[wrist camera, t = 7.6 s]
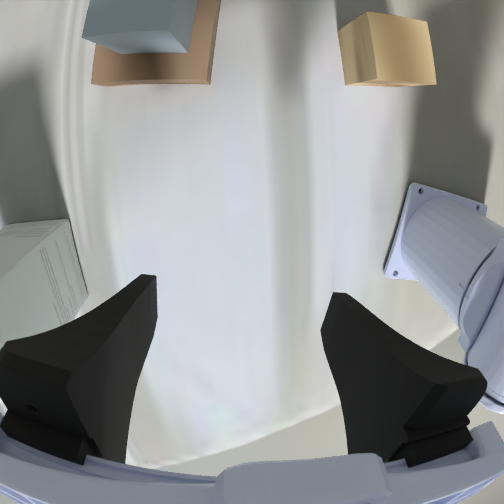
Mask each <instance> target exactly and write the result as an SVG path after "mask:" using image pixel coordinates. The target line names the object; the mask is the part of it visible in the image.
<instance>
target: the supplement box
mask: <svg viewBox="0 0 504 504" xmlns="http://www.w3.org/2000/svg"><path fill="white" fill-rule="evenodd" d="M87 298H88V293H87V290H86V287H85V283H84V280H83V276H82V273H81V269H80V265H79V262H78V258H77V254H76V250H75V245H74V241H73V237H72V232H71V227H70V222H69V219H57V220H47V221H35V222H25V223H15V224H8V225H6V226H5V227H4V228H2V229H1V230H0V350H1V348H2V347H3V345H4V344H5V343H6V341H10V340H15V339H20V338H24V337H29V336H33V335H36V334H39V333H43V332H46V331H49V330H52V329H54V328H57V327H59V326H61V325H64V324H66V323H68V322H71V321H73V320H74V318H75V317H76V315H77V313H78V312H79V310H80V309H81V307H82V305H83V304H84V302H85V301H86V299H87ZM0 403H3V401H2V400H1V398H0ZM3 404H4V403H3Z"/></svg>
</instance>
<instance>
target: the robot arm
mask: <svg viewBox="0 0 504 504" xmlns="http://www.w3.org/2000/svg"><path fill="white" fill-rule="evenodd" d="M420 188H421V192H420V193H418V191H419V189H420ZM476 207H477V208H476ZM486 213H487V205H485V204H483V203H480V202H477V201H474V200H471V199H468V198H465V197H462V196H459V195H456V194H453V193H449V192H446V191H443V190H440V189H436V188H433V187H429V186H426V185H422V184H419V183H411V184H410V186H409V189H408V192H407V196H406V200H405V204H404V207H403V211H402V215H401V218H400V222H399V225H398V228H397V232H396V235H395V238H394V241H393V245H392V248H391V251H390V254H389V257H388V260H387V263H386V266H385V269H384V275H385V276H386V277H387V278H394V279H406V280H418V281H419V282H420V284H421V285H422V286H423V287H424V288H425V289H426V290H427V291H428V292H429V293H430V295H431V296H432V297H433V298H434V299H435V300H436V301H437V303H438V304H439V305H440V306H441V307H442V308H443V309H444V311H445V312H446V313H447V314H448V315H449V317H450V318H451V319H452V320H453V321H454V323H455V324H456V325H457V326H458V327H459V329H460V330H461V333H460V336H459V338H458V343H459V344H460V345H461V347H462V348H463V349H464V351H465V352H466V353H465V355H464V357H463V359H462V362H461V364H460V363H457V362H454V361H452V360H449V359H446V358H444V357H441V356H439V355H437V354H435V353H433V352H430V351H428V350H426V349H424V348H422V347H421V346H419V345H417V344H415V343H413V342H412V341H410V340H409V339H407V338H405V337H404V336H402V335H401V334H399V333H398V332H396V331H395V330H393V329H392V328H391V327H389V326H388V325H387V324H385V323H384V322H383V321H381V320H380V319H379V318H378V317H376V316H375V315H374V314H373V313H371V312H370V311H369V310H368V309H366V308H365V307H364V306H363V305H362V304H360V303H359V302H358V301H357V300H355V299H354V298H353V297H351V296H350V295H348V294H347V293H337V292H333V294H332V297H331V300H330V303H329V306H328V310H327V313H326V316H325V319H324V322H323V325H322V327H321V336H322V342H323V347H324V351H325V354H326V357H327V360H328V363H329V366H330V369H331V372H332V375H333V378H334V381H335V384H336V387H337V390H338V393H339V397H340V401H341V406H342V411H343V416H344V423H345V429H346V437H347V447H348V455H343V456H334V457H325V458H315V459H302V460H283V461H260V462H249V463H242V464H239V465H235V466H232V467H228V468H227V469H225V470H224V471H223V472H222V473H221V474H220V475H219V476H217V477H215V476H202V475H191V474H181V473H173V472H166V471H160V470H153V469H147V468H142V467H137V466H132V465H127V464H125V459H126V448H127V439H128V431H129V424H130V418H131V412H132V406H133V401H134V396H135V391H136V386H137V383H138V379H139V376H140V373H141V371H142V368H143V365H144V362H145V359H146V356H147V353H148V351H149V348H150V345H151V342H152V339H153V336H154V331H155V327H156V322H157V317H158V315H157V283H156V276H154V275H146V274H141V275H140V276H138V277H137V278H136V279H135V280H133V281H132V282H131V283H130V284H128V285H127V286H126V287H124V288H123V289H122V290H120V291H119V292H118V293H117V294H115V295H114V296H113V297H111V298H110V299H108V300H107V301H105V302H104V303H102V304H101V305H99V306H98V307H96V308H95V309H93V310H92V311H90V312H88V313H86V314H85V315H83V316H81V317H79V318H77V319H75V320H73V321H71V322H68V323H66V324H64V325H61V326H59V327H57V328H54V329H52V330H49V331H46V332H43V333H39V334H36V335H33V336H29V337H24V338H20V339H15V340H10V341H6V343H5V344H4V345H3V347H2V348H1V350H0V398H1V400H2V401H3V403H4V404H5V406H6V407H7V409H8V410H7V412H6V414H5V416H4V415H3V414H1V413H0V493H1V494H2V495H4V496H6V497H8V498H9V499H11V500H13V501H15V502H17V503H19V504H457V503H459V502H461V501H463V500H464V499H467V498H468V497H470V496H472V495H474V494H476V493H477V492H479V491H480V490H481V489H483V488H484V487H485V486H487V485H488V484H489V483H491V482H492V481H493V480H495V479H496V478H497V477H499V476H500V475H501V474H502V473H503V472H504V442H503V440H502V438H501V436H500V435H499V433H498V431H497V430H496V428H495V426H494V424H493V422H492V421H489V422H487V423H484V424H482V425H479V426H477V427H475V428H473V429H472V430H470V431H469V430H468V428H467V425H468V424H469V423H470V420H469V418H468V417H467V415H468V414H469V413H470V412H471V410H472V409H473V408H474V407H475V406H476V404H477V403H478V402H479V403H480V404H481V405H482V406H484V407H485V408H487V409H489V410H491V411H493V412H496V413H500V414H504V228H503V227H502V226H500V225H498V224H497V223H495V222H493V221H492V220H490V219H488V218H487V217H485V216H486ZM394 271H396V272H395V273H394V274H393V272H394Z"/></svg>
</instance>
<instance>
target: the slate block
mask: <svg viewBox="0 0 504 504" xmlns="http://www.w3.org/2000/svg"><path fill="white" fill-rule="evenodd" d="M197 2H198V0H90V3H89V7H88V11H87V15H86V20H85V24H84V29H83V34H82V38H84V39H87V40H89V41H92V42H94V43H97V44H99V45H102V46H104V47H106V48H109V49H111V50H113V51H116V52H118V53H120V54H130V53H188V51H189V45H190V39H191V34H192V28H193V23H194V17H195V12H196V7H197Z"/></svg>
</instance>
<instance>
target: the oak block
mask: <svg viewBox="0 0 504 504" xmlns="http://www.w3.org/2000/svg"><path fill="white" fill-rule="evenodd" d="M337 32H338V38H339V44H340V50H341V57H342V64H343V71H344V79H345V85H365V86H389V87H402V86H416V85H437V84H436V75H435V67H434V59H433V53H432V46H431V41H430V35H429V30H428V25H427V22H425V21H421V20H416V19H412V18H407V17H401V16H396V15H389V14H383V13H376V12H368V11H366V12H365V13H363V14H362V15H360V16H359V17H357V18H356V19H354V20H353V21H351V22H350V23H348V24H347V25H346V26H344V27H343V28H341V29H340V30H339V31H337Z"/></svg>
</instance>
